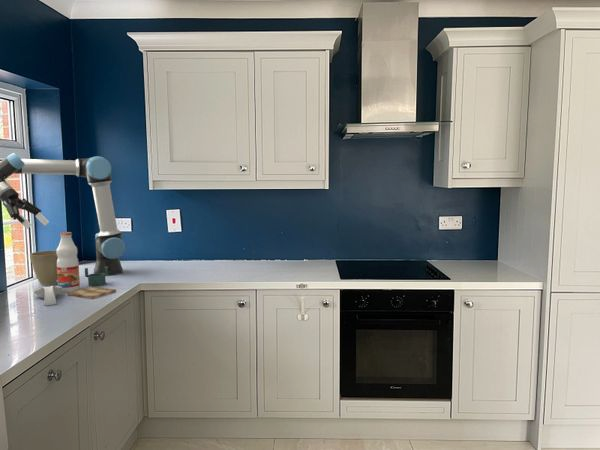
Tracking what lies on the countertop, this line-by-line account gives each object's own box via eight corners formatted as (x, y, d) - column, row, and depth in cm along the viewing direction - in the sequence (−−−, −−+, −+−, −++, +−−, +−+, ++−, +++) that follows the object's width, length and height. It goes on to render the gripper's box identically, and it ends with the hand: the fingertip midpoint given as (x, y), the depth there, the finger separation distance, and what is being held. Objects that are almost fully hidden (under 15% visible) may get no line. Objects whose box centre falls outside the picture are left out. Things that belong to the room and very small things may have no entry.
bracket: (83, 285, 241) (82, 268, 240) (99, 281, 249) (98, 264, 248) (96, 287, 237) (95, 269, 236) (111, 283, 245) (110, 266, 244)
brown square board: (92, 288, 234) (92, 286, 234) (115, 291, 228) (115, 289, 228) (68, 295, 221) (67, 293, 221) (92, 299, 215) (91, 296, 215)
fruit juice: (83, 288, 236) (80, 231, 233) (73, 292, 226) (70, 233, 223) (65, 288, 236) (61, 231, 233) (54, 292, 227) (50, 233, 224)
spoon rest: (32, 295, 222) (31, 280, 222) (61, 292, 228) (60, 277, 228) (35, 308, 202) (34, 291, 201) (66, 303, 208) (65, 287, 207)
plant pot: (27, 284, 245) (24, 253, 243) (57, 279, 256) (55, 249, 254) (38, 288, 235) (36, 256, 233) (69, 283, 246) (67, 252, 244)
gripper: (18, 197, 240) (48, 227, 241) (-18, 200, 215) (16, 234, 216) (27, 187, 239) (58, 217, 240) (-8, 188, 214) (26, 222, 215)
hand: (38, 225), depth 228 cm, fingers open, 13 cm apart
